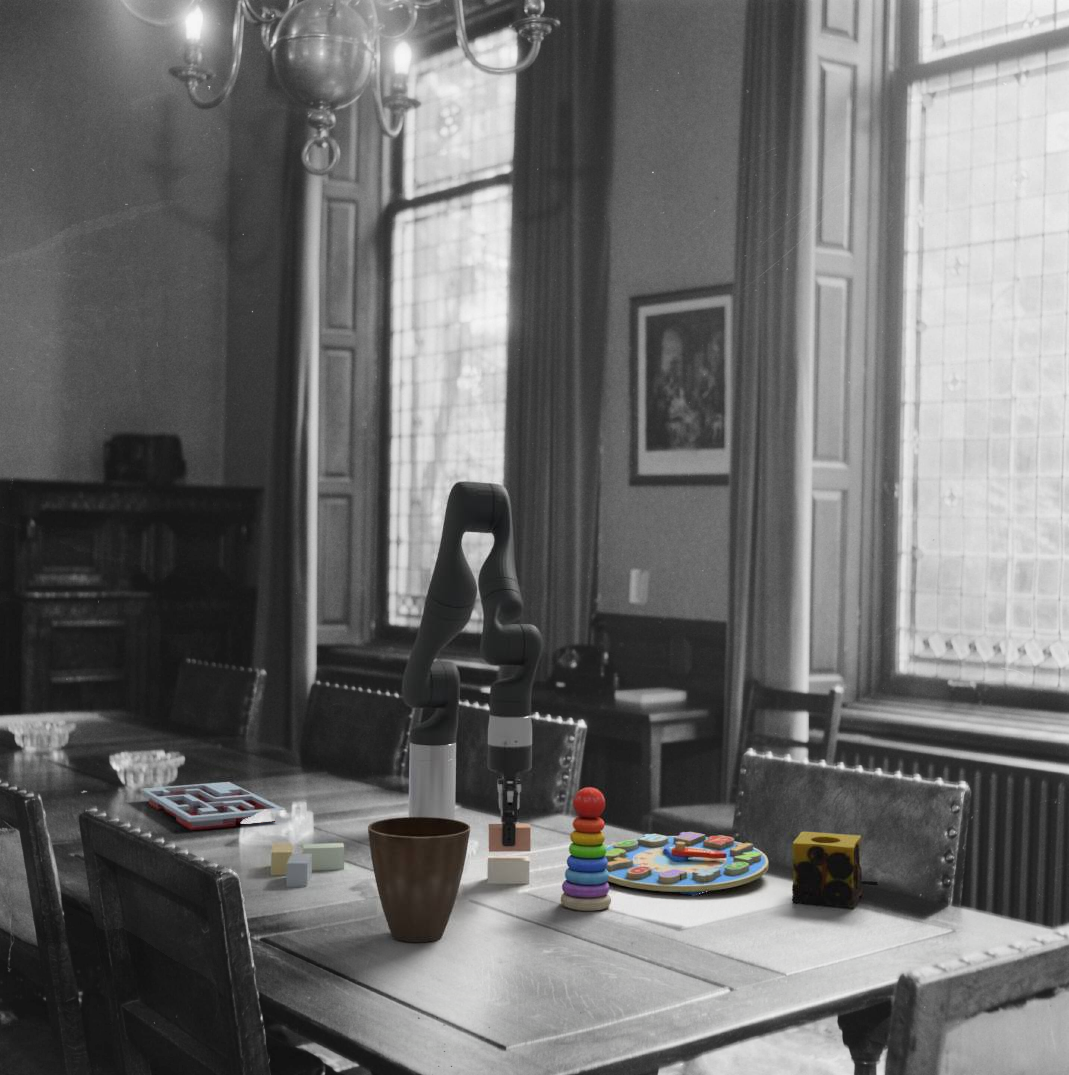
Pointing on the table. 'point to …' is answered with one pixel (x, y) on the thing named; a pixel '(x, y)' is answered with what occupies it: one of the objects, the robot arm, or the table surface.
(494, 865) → the brick cream
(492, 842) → the brick terracotta
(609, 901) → the stacking toy
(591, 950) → the table surface
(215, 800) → the maze game
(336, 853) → the brick sage
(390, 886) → the plant pot
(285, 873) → the brick ochre
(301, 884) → the brick slate
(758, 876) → the shape sorting clock
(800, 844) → the yellow gear box toy
